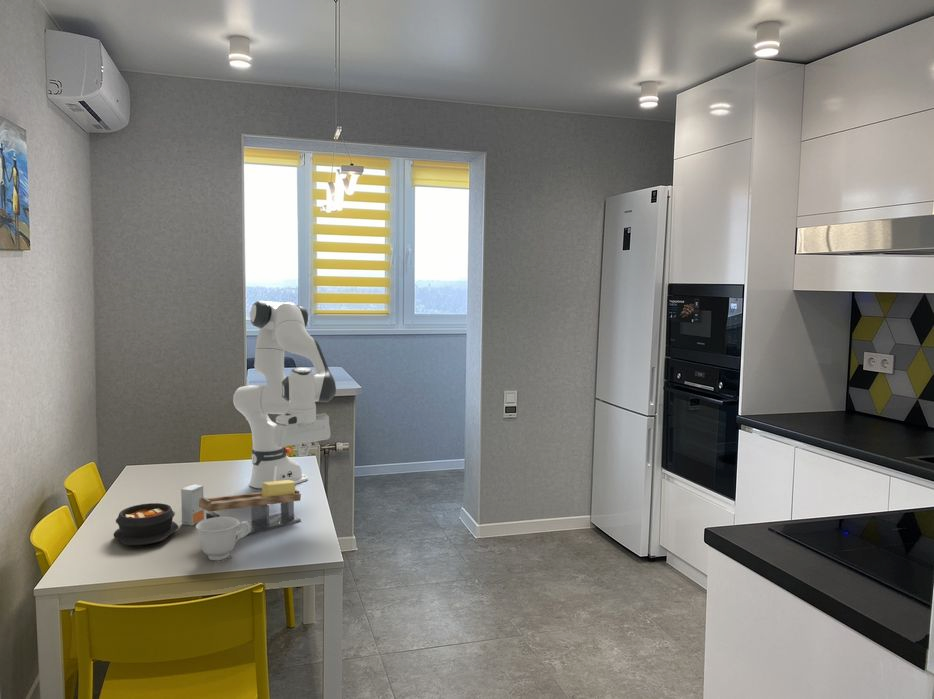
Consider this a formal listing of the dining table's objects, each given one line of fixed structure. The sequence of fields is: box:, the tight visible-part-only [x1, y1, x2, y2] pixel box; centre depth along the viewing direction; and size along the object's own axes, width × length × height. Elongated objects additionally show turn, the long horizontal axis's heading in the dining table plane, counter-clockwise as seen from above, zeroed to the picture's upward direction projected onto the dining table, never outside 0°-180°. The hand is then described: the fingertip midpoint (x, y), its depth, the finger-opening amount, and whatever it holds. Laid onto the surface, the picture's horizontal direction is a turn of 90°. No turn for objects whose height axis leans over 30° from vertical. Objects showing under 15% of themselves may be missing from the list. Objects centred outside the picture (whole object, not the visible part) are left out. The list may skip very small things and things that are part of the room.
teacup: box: [195, 516, 250, 561], centre depth 209 cm, size 12×15×10 cm
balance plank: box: [199, 488, 302, 512], centre depth 231 cm, size 32×7×3 cm, turn 135°
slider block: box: [261, 480, 296, 497], centre depth 238 cm, size 10×4×4 cm, turn 135°
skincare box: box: [180, 484, 205, 526], centre depth 237 cm, size 6×4×12 cm
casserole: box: [113, 502, 179, 546], centre depth 225 cm, size 25×19×8 cm
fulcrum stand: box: [205, 501, 302, 538], centre depth 232 cm, size 30×10×8 cm, turn 135°
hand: (303, 455), depth 244 cm, fingers closed
